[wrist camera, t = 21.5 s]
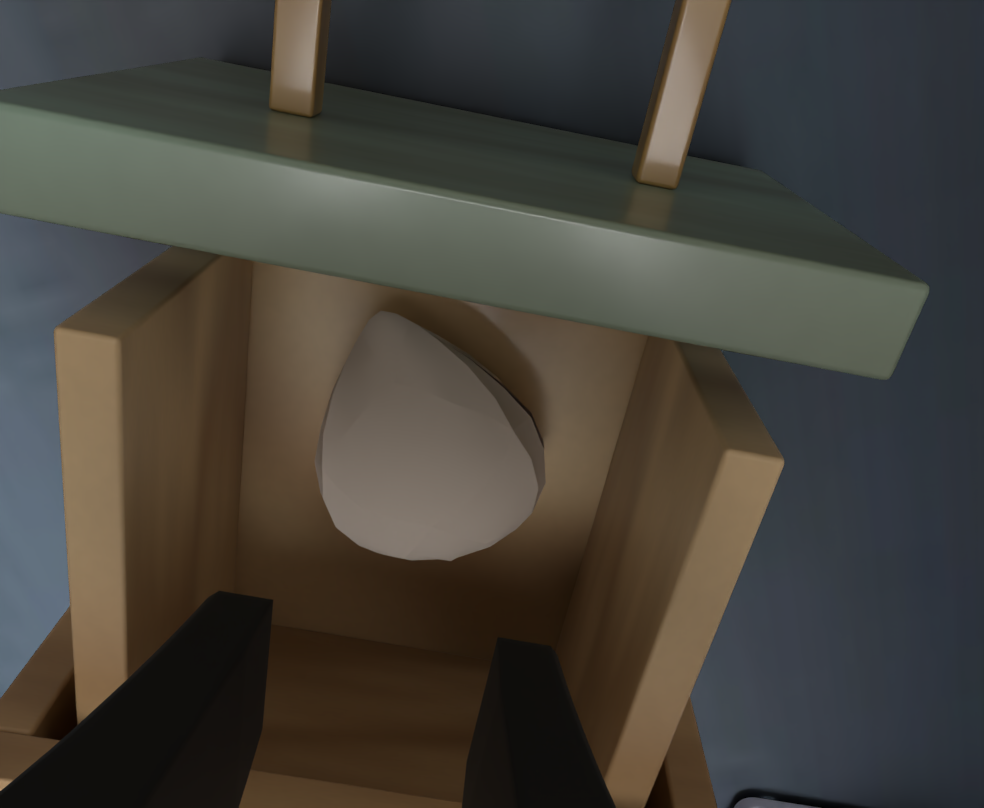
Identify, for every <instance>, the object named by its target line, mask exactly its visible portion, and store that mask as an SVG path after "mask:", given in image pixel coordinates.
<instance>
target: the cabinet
mask: <svg viewBox="0 0 984 808" xmlns="http://www.w3.org/2000/svg"><path fill="white" fill-rule="evenodd" d="M76 726H77V710H76V693H75V677H74V660H73V643H72V627H71V610H70V606H69V608H68V609H67V611H66V612H65V613H64V615H63V616H62V617H61V619H60V620H59V621H58V623H57V624H56V625H55V627H54V628H53V629H52V631H51V632H50V633H49V635H48V636H47V637H46V639H45V640H44V641H43V643H42V644H41V645H40V647H39V648H38V649H37V651H36V652H35V653H34V655H33V656H32V657H31V659H30V660H29V661H28V663H27V664H26V665H25V667H24V668H23V669H22V671H21V672H20V673H19V675H18V676H17V677H16V679H15V680H14V681H13V683H12V684H11V685H10V687H9V688H8V689H7V691H6V692H5V693H4V695H3V696H2V697H1V699H0V791H1V790H2V789H4V788H5V787H6V786H7V785H8V784H10V783H11V782H12V781H13V780H14V779H15V778H17V777H18V776H19V775H20V774H21V773H23V772H24V771H25V770H26V769H27V768H29V767H30V766H31V765H32V764H33V763H35V762H36V761H37V760H38V759H39V758H41V757H42V756H43V755H44V754H45V753H46V752H48V751H49V750H50V749H51V748H52V747H54V746H55V745H56V744H57V743H58V742H59V741H60V740H61V739H63V738H64V737H65V736H66V735H67V734H68V733H69V732H71V731H72V730H73V729H74V728H75V727H76ZM239 808H462V802H458V801H451V800H445V799H438V798H432V797H425V796H419V795H412V794H406V793H399V792H393V791H386V790H380V789H373V788H367V787H360V786H354V785H347V784H341V783H334V782H328V781H321V780H315V779H308V778H302V777H295V776H289V775H282V774H276V773H269V772H263V771H256V770H250V773H249V776H248V779H247V782H246V786H245V789H244V792H243V795H242V799H241V802H240V805H239ZM644 808H717V804H716V800H715V796H714V792H713V788H712V784H711V780H710V776H709V772H708V768H707V764H706V760H705V755H704V751H703V747H702V743H701V739H700V735H699V731H698V727H697V723H696V719H695V715H694V711H693V707H692V703H691V699H690V697H689V699H688V702H687V704H686V707H685V709H684V712H683V714H682V717H681V719H680V721H679V724H678V726H677V729H676V731H675V734H674V736H673V739H672V741H671V744H670V746H669V748H668V751H667V753H666V756H665V758H664V761H663V763H662V766H661V768H660V771H659V773H658V775H657V778H656V780H655V783H654V785H653V788H652V790H651V793H650V795H649V798H648V800H647V802H646V805H645V807H644Z"/></svg>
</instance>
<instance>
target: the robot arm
mask: <svg viewBox="0 0 984 808" xmlns="http://www.w3.org/2000/svg"><path fill="white" fill-rule="evenodd" d="M272 610H273V600H272V599H266V598H260V597H254V596H248V595H242V594H236V593H230V592H224V591H218V592H216V593H214V594H213V595H211V596H209V597H208V598H207V599H206V600H205V601H204V602H203V603H202V604H201V605H200V607H199V608H198V609H197V610H196V611H195V612H194V613H193V614H192V615H191V616H190V617H189V618H188V619H187V620H186V621H185V622H184V623H183V624H182V625H181V626H180V628H179V629H178V630H177V631H176V632H175V633H174V634H173V635H172V636H171V637H170V638H169V639H168V640H167V641H166V642H165V643H164V644H163V645H162V646H161V647H160V648H159V649H158V650H157V651H156V652H155V653H154V654H153V655H152V656H151V657H150V658H149V659H148V660H147V661H146V662H145V663H143V664H142V665H141V666H140V667H139V668H138V669H137V670H136V671H135V672H134V673H133V674H132V675H131V676H130V677H129V678H128V679H127V680H126V681H125V682H124V683H123V684H122V685H121V686H119V687H118V688H117V689H116V690H115V691H114V692H113V693H112V694H111V695H110V696H109V697H108V698H106V699H105V700H104V701H103V702H102V703H101V704H100V705H99V706H98V707H97V708H96V709H94V710H93V711H92V712H91V713H90V714H89V715H88V716H87V717H86V718H85V719H84V720H82V721H81V722H80V723H79V724H78V725H77V726H76V727H75V728H74V729H73V730H72V731H71V732H69V733H68V734H67V735H66V736H65V737H64V738H63V739H61V740H60V741H59V742H58V743H57V744H56V745H55V746H54V747H52V748H51V749H50V750H49V751H48V752H46V753H45V754H44V755H43V756H42V757H41V758H39V759H38V760H37V761H36V762H35V763H33V764H32V765H31V766H30V767H29V768H27V769H26V770H25V771H24V772H23V773H21V774H20V775H19V776H18V777H17V778H15V779H14V780H13V781H12V782H11V783H10V784H8V785H7V786H6V787H5V788H4V789H2V790H1V791H0V808H239V805H240V802H241V799H242V795H243V792H244V789H245V786H246V782H247V779H248V776H249V773H250V769H251V766H252V763H253V759H254V756H255V752H256V749H257V746H258V742H259V739H260V736H261V732H262V728H263V717H264V705H265V693H266V681H267V669H268V657H269V645H270V634H271V622H272ZM462 808H616V806H615V804H614V801H613V799H612V797H611V795H610V793H609V790H608V788H607V786H606V784H605V781H604V779H603V777H602V774H601V772H600V770H599V767H598V765H597V763H596V760H595V758H594V755H593V753H592V750H591V748H590V745H589V743H588V740H587V738H586V735H585V733H584V730H583V727H582V725H581V722H580V720H579V717H578V714H577V712H576V709H575V706H574V704H573V701H572V698H571V695H570V692H569V689H568V686H567V683H566V680H565V677H564V674H563V671H562V668H561V665H560V662H559V658H558V655H557V654H556V652H555V651H554V650H553V648H552V647H551V646H549V645H543V644H537V643H531V642H525V641H519V640H513V639H507V638H501V637H498V638H497V642H496V646H495V650H494V654H493V658H492V662H491V666H490V670H489V674H488V678H487V682H486V686H485V690H484V694H483V698H482V702H481V706H480V710H479V714H478V718H477V722H476V726H475V730H474V734H473V738H472V742H471V746H470V750H469V754H468V758H467V763H466V772H465V782H464V791H463V801H462ZM734 808H820V807H813V806H807V805H801V804H794V803H788V802H782V801H775V800H769V799H763V798H756V797H748V798H744V799H742V800H740V801H739V802H738V803H737V804H736V805H735V806H734Z"/></svg>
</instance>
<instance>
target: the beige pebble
mask: <svg viewBox="0 0 984 808" xmlns="http://www.w3.org/2000/svg"><path fill="white" fill-rule="evenodd" d="M314 462H315V467H316V472H317V477H318V482H319V487H320V493H321V495H322V497H323V500H324V502H325V504H326V507H327V509H328V511H329V513H330V516H331V518H332V520H333V522H334V524H335V527H336V528H337V529H339V530H340V531H341V532H342V533H344V534H345V535H346V536H347V537H349V538H350V539H351V540H352V541H354V542H355V543H356V544H358V545H359V546H361V547H364V548H366V549H369V550H371V551H374V552H376V553H379V554H383V555H388V556H392V557H397V558H402V559H407V560H434V559H440V560H447V561H452V560H454V559H456V558H458V557H461V556H464V555H467V554H470V553H473V552H476V551H479V550H482V549H485V548H488V547H491V546H492V545H494V544H495V543H497V542H498V541H500V540H501V539H503V538H504V537H506V536H507V535H509V534H510V533H511V532H513V531H514V530H516V529H517V528H518V527H519V526H520V525H521V524H522V523H523V522H524V521H525V520H526V519H527V518H528V517H529V516H530V515H531V514H532V512H533V510H534V508H535V505H536V503H537V501H538V499H539V497H540V494H541V492H542V490H543V488H544V485H545V483H546V480H545V461H544V443H543V438H542V436H541V434H540V432H539V429H538V427H537V425H536V422H535V420H534V418H533V416H532V413H531V412H530V411H529V410H528V409H527V408H526V407H525V406H524V405H523V404H522V403H521V402H520V401H519V400H518V399H517V398H516V397H515V396H514V395H513V394H512V393H511V392H510V391H509V390H508V389H507V388H506V387H505V386H504V385H503V384H502V382H501V381H500V380H499V379H498V377H497V376H495V375H494V374H493V373H492V372H490V371H489V370H488V369H487V368H485V367H484V366H483V365H482V364H480V363H479V362H478V361H477V360H475V359H474V358H473V357H472V356H471V355H469V354H468V353H466V352H464V351H463V350H461V349H460V348H458V347H456V346H455V345H453V344H451V343H450V342H448V341H447V340H445V339H443V338H442V337H440V336H438V335H436V334H434V333H432V332H431V331H429V330H427V329H425V328H423V327H421V326H419V325H417V324H415V323H413V322H411V321H409V320H408V319H406V318H404V317H402V316H400V315H398V314H396V313H391V312H386V311H380V312H378V313H377V314H376V315H375V316H373V317H372V318H371V319H370V320H369V321H368V323H367V324H366V326H365V327H364V329H363V331H362V332H361V334H360V336H359V337H358V339H357V341H356V343H355V345H354V347H353V349H352V351H351V353H350V354H349V356H348V359H347V361H346V363H345V365H344V367H343V369H342V371H341V373H340V375H339V377H338V379H337V382H336V384H335V386H334V388H333V391H332V394H331V397H330V400H329V403H328V406H327V409H326V412H325V415H324V419H323V422H322V425H321V429H320V434H319V440H318V445H317V450H316V456H315V461H314Z"/></svg>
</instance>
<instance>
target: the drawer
mask: <svg viewBox="0 0 984 808" xmlns="http://www.w3.org/2000/svg"><path fill="white" fill-rule="evenodd" d="M331 1H332V0H275V12H274V28H273V45H272V62H271V71H266V70H261V69H256V68H251V67H246V66H241V65H236V64H231V63H226V62H221V61H216V60H211V59H206V58H202V57H201V58H194V59H188V60H182V61H176V62H170V63H163V64H157V65H151V66H145V67H139V68H133V69H126V70H120V71H114V72H108V73H102V74H95V75H89V76H83V77H77V78H71V79H65V80H58V81H52V82H46V83H40V84H34V85H27V86H21V87H15V88H9V89H3V90H0V213H1V214H6V215H12V216H17V217H22V218H28V219H33V220H38V221H43V222H49V223H54V224H59V225H65V226H70V227H75V228H81V229H86V230H91V231H96V232H102V233H107V234H112V235H118V236H123V237H128V238H133V239H139V240H144V241H149V242H155V243H160V244H165V245H171V246H172V247H170V248H169V249H168V250H166V251H165V252H163V253H162V254H160V255H159V256H157V257H156V258H155V259H153V260H152V261H150V262H149V263H147V264H146V265H144V266H143V267H142V268H140V269H139V270H137V271H136V272H134V273H133V274H131V275H130V276H129V277H127V278H126V279H124V280H123V281H121V282H120V283H118V284H117V285H116V286H114V287H113V288H111V289H110V290H108V291H107V292H105V293H104V294H102V295H101V296H100V297H98V298H97V299H95V300H94V301H92V302H91V303H89V304H88V305H87V306H85V307H84V308H82V309H81V310H79V311H78V312H76V313H75V314H74V315H72V316H71V317H69V318H68V319H66V320H65V321H63V322H62V323H61V324H59V325H58V326H56V327H55V330H54V344H55V360H56V377H57V393H58V410H59V427H60V443H61V460H62V477H63V493H64V510H65V527H66V543H67V560H68V577H69V593H70V610H71V627H72V643H73V660H74V677H75V693H76V710H77V725H78V724H79V723H80V722H81V721H82V720H84V719H85V718H86V717H87V716H88V715H89V714H90V713H91V712H92V711H93V710H94V709H96V708H97V707H98V706H99V705H100V704H101V703H102V702H103V701H104V700H105V699H106V698H108V697H109V696H110V695H111V694H112V693H113V692H114V691H115V690H116V689H117V688H118V687H119V686H121V685H122V684H123V683H124V682H125V681H126V680H127V679H128V678H129V677H130V676H131V675H132V674H133V673H134V672H135V671H136V670H137V669H138V668H139V667H140V666H141V665H142V664H143V663H145V662H146V661H147V660H148V659H149V658H150V657H151V656H152V655H153V654H154V653H155V652H156V651H157V650H158V649H159V648H160V647H161V646H162V645H163V644H164V643H165V642H166V641H167V640H168V639H169V638H170V637H171V636H172V635H173V634H174V633H175V632H176V631H177V630H178V629H179V628H180V626H181V625H182V624H183V623H184V622H185V621H186V620H187V619H188V618H189V617H190V616H191V615H192V614H193V613H194V612H195V611H196V610H197V609H198V608H199V607H200V605H201V604H202V603H203V602H204V601H205V600H206V599H207V598H208V597H209V596H211V595H213V594H214V593H216V592H218V591H224V592H230V593H236V594H242V595H248V596H254V597H260V598H266V599H272V600H273V610H272V622H271V634H270V645H269V657H268V669H267V681H266V693H265V705H264V717H263V728H262V732H261V736H260V739H259V742H258V746H257V749H256V752H255V756H254V759H253V763H252V766H251V769H250V770H256V771H263V772H269V773H276V774H282V775H289V776H295V777H302V778H308V779H315V780H321V781H328V782H334V783H341V784H347V785H354V786H360V787H367V788H373V789H380V790H386V791H393V792H399V793H406V794H412V795H419V796H425V797H432V798H438V799H445V800H451V801H458V802H462V801H463V791H464V782H465V772H466V763H467V758H468V754H469V750H470V746H471V742H472V738H473V734H474V730H475V726H476V722H477V718H478V714H479V710H480V706H481V702H482V698H483V694H484V690H485V686H486V682H487V678H488V674H489V670H490V666H491V662H492V658H493V654H494V650H495V646H496V642H497V638H498V637H501V638H507V639H513V640H519V641H525V642H531V643H537V644H543V645H549V646H551V647H552V648H553V650H554V651H555V652H556V654H557V655H558V658H559V662H560V665H561V668H562V671H563V674H564V677H565V680H566V683H567V686H568V689H569V692H570V695H571V698H572V701H573V704H574V706H575V709H576V712H577V714H578V717H579V720H580V722H581V725H582V727H583V730H584V733H585V735H586V738H587V740H588V743H589V745H590V748H591V750H592V753H593V755H594V758H595V760H596V763H597V765H598V767H599V770H600V772H601V774H602V777H603V779H604V781H605V784H606V786H607V788H608V790H609V793H610V795H611V797H612V799H613V801H614V804H615V806H616V808H644V807H645V805H646V802H647V800H648V798H649V795H650V793H651V790H652V788H653V785H654V783H655V780H656V778H657V775H658V773H659V771H660V768H661V766H662V763H663V761H664V758H665V756H666V753H667V751H668V748H669V746H670V744H671V741H672V739H673V736H674V734H675V731H676V729H677V726H678V724H679V721H680V719H681V717H682V714H683V712H684V709H685V707H686V704H687V702H688V699H689V697H690V694H691V692H692V690H693V687H694V685H695V682H696V680H697V677H698V675H699V672H700V670H701V667H702V665H703V663H704V660H705V658H706V655H707V653H708V650H709V648H710V645H711V643H712V641H713V638H714V636H715V633H716V631H717V628H718V626H719V623H720V621H721V618H722V616H723V614H724V611H725V609H726V606H727V604H728V601H729V599H730V596H731V594H732V591H733V589H734V587H735V584H736V582H737V579H738V577H739V574H740V572H741V569H742V567H743V564H744V562H745V560H746V557H747V555H748V552H749V550H750V547H751V545H752V542H753V540H754V537H755V535H756V533H757V530H758V528H759V525H760V523H761V520H762V518H763V515H764V513H765V510H766V508H767V506H768V503H769V501H770V498H771V496H772V493H773V491H774V488H775V486H776V483H777V481H778V479H779V476H780V474H781V471H782V469H783V466H784V458H783V456H782V455H781V453H780V451H779V450H778V448H777V446H776V445H775V443H774V441H773V439H772V438H771V436H770V434H769V433H768V431H767V429H766V427H765V426H764V424H763V422H762V421H761V419H760V417H759V415H758V414H757V412H756V410H755V409H754V407H753V405H752V403H751V402H750V400H749V398H748V397H747V395H746V393H745V391H744V390H743V388H742V386H741V385H740V383H739V381H738V379H737V378H736V376H735V374H734V373H733V371H732V369H731V367H730V366H729V364H728V362H727V361H726V359H725V357H724V355H723V354H722V352H721V350H726V351H732V352H737V353H742V354H747V355H753V356H758V357H763V358H769V359H774V360H779V361H784V362H790V363H795V364H800V365H806V366H811V367H816V368H822V369H827V370H832V371H837V372H843V373H848V374H853V375H859V376H864V377H869V378H874V379H880V380H886V379H889V378H890V377H891V376H892V374H893V372H894V369H895V367H896V365H897V363H898V361H899V358H900V356H901V354H902V352H903V350H904V347H905V345H906V343H907V341H908V338H909V336H910V334H911V332H912V330H913V327H914V325H915V323H916V321H917V318H918V316H919V314H920V312H921V310H922V307H923V305H924V303H925V301H926V299H927V296H928V294H929V285H928V284H926V283H925V282H924V281H922V280H921V279H919V278H918V277H916V276H915V275H913V274H912V273H911V272H909V271H908V270H906V269H905V268H903V267H902V266H900V265H899V264H897V263H896V262H894V261H893V260H891V259H890V258H889V257H887V256H886V255H884V254H883V253H881V252H880V251H878V250H877V249H875V248H874V247H872V246H871V245H869V244H868V243H867V242H865V241H864V240H862V239H861V238H859V237H858V236H856V235H855V234H853V233H852V232H850V231H849V230H847V229H846V228H845V227H843V226H842V225H840V224H839V223H837V222H836V221H834V220H833V219H831V218H830V217H828V216H827V215H825V214H824V213H823V212H821V211H820V210H818V209H817V208H815V207H814V206H812V205H811V204H809V203H808V202H806V201H805V200H803V199H802V198H801V197H799V196H798V195H796V194H795V193H793V192H792V191H790V190H789V189H787V188H786V187H784V186H783V185H781V184H780V183H779V182H777V181H776V180H774V179H773V178H771V177H770V176H768V175H767V174H765V173H764V172H762V171H761V170H756V169H751V168H746V167H741V166H736V165H731V164H726V163H721V162H716V161H711V160H706V159H701V158H696V157H691V156H687V153H688V150H689V146H690V143H691V140H692V136H693V133H694V129H695V126H696V122H697V119H698V115H699V112H700V108H701V105H702V101H703V98H704V94H705V91H706V87H707V84H708V80H709V77H710V73H711V70H712V66H713V63H714V59H715V56H716V52H717V49H718V45H719V42H720V39H721V35H722V32H723V28H724V25H725V21H726V18H727V14H728V11H729V7H730V4H731V0H676V1H675V5H674V9H673V13H672V17H671V20H670V24H669V28H668V32H667V36H666V40H665V44H664V47H663V51H662V55H661V59H660V63H659V67H658V71H657V74H656V78H655V82H654V86H653V90H652V94H651V97H650V101H649V105H648V109H647V113H646V117H645V121H644V124H643V128H642V132H641V136H640V140H639V144H638V146H637V145H632V144H627V143H622V142H617V141H612V140H607V139H602V138H597V137H592V136H587V135H582V134H578V133H573V132H568V131H563V130H558V129H553V128H548V127H543V126H538V125H533V124H528V123H523V122H518V121H513V120H508V119H503V118H498V117H493V116H488V115H484V114H479V113H474V112H469V111H464V110H459V109H454V108H449V107H444V106H439V105H434V104H429V103H424V102H419V101H414V100H409V99H404V98H399V97H394V96H390V95H385V94H380V93H375V92H370V91H365V90H360V89H355V88H350V87H345V86H340V85H335V84H330V83H325V82H324V81H325V69H326V58H327V47H328V35H329V24H330V13H331ZM380 311H386V312H391V313H396V314H398V315H400V316H402V317H404V318H406V319H408V320H409V321H411V322H413V323H415V324H417V325H419V326H421V327H423V328H425V329H427V330H429V331H431V332H432V333H434V334H436V335H438V336H440V337H442V338H443V339H445V340H447V341H448V342H450V343H451V344H453V345H455V346H456V347H458V348H460V349H461V350H463V351H464V352H466V353H468V354H469V355H471V356H472V357H473V358H474V359H475V360H477V361H478V362H479V363H480V364H482V365H483V366H484V367H485V368H487V369H488V370H489V371H490V372H492V373H493V374H494V375H495V376H497V377H498V379H499V380H500V381H501V382H502V384H503V385H504V386H505V387H506V388H507V389H508V390H509V391H510V392H511V393H512V394H513V395H514V396H515V397H516V398H517V399H518V400H519V401H520V402H521V403H522V404H523V405H524V406H525V407H526V408H527V409H528V410H529V411H530V412H531V413H532V416H533V418H534V420H535V422H536V425H537V427H538V429H539V432H540V434H541V436H542V438H543V443H544V461H545V480H546V483H545V485H544V488H543V490H542V492H541V494H540V497H539V499H538V501H537V503H536V505H535V508H534V510H533V512H532V514H531V515H530V516H529V517H528V518H527V519H526V520H525V521H524V522H523V523H522V524H521V525H520V526H519V527H518V528H517V529H516V530H514V531H513V532H511V533H510V534H509V535H507V536H506V537H504V538H503V539H501V540H500V541H498V542H497V543H495V544H494V545H492V546H491V547H488V548H485V549H482V550H479V551H476V552H473V553H470V554H467V555H464V556H461V557H458V558H456V559H454V560H452V561H447V560H440V559H434V560H407V559H402V558H397V557H392V556H388V555H383V554H379V553H376V552H374V551H371V550H369V549H366V548H364V547H361V546H359V545H358V544H356V543H355V542H354V541H352V540H351V539H350V538H349V537H347V536H346V535H345V534H344V533H342V532H341V531H340V530H339V529H337V528H336V527H335V524H334V522H333V520H332V518H331V516H330V513H329V511H328V509H327V507H326V504H325V502H324V500H323V497H322V495H321V493H320V487H319V482H318V477H317V472H316V467H315V462H314V461H315V456H316V450H317V445H318V440H319V434H320V429H321V425H322V422H323V419H324V415H325V412H326V409H327V406H328V403H329V400H330V397H331V394H332V391H333V388H334V386H335V384H336V382H337V379H338V377H339V375H340V373H341V371H342V369H343V367H344V365H345V363H346V361H347V359H348V356H349V354H350V353H351V351H352V349H353V347H354V345H355V343H356V341H357V339H358V337H359V336H360V334H361V332H362V331H363V329H364V327H365V326H366V324H367V323H368V321H369V320H370V319H371V318H372V317H373V316H375V315H376V314H377V313H378V312H380ZM720 349H721V350H720Z"/></svg>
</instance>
